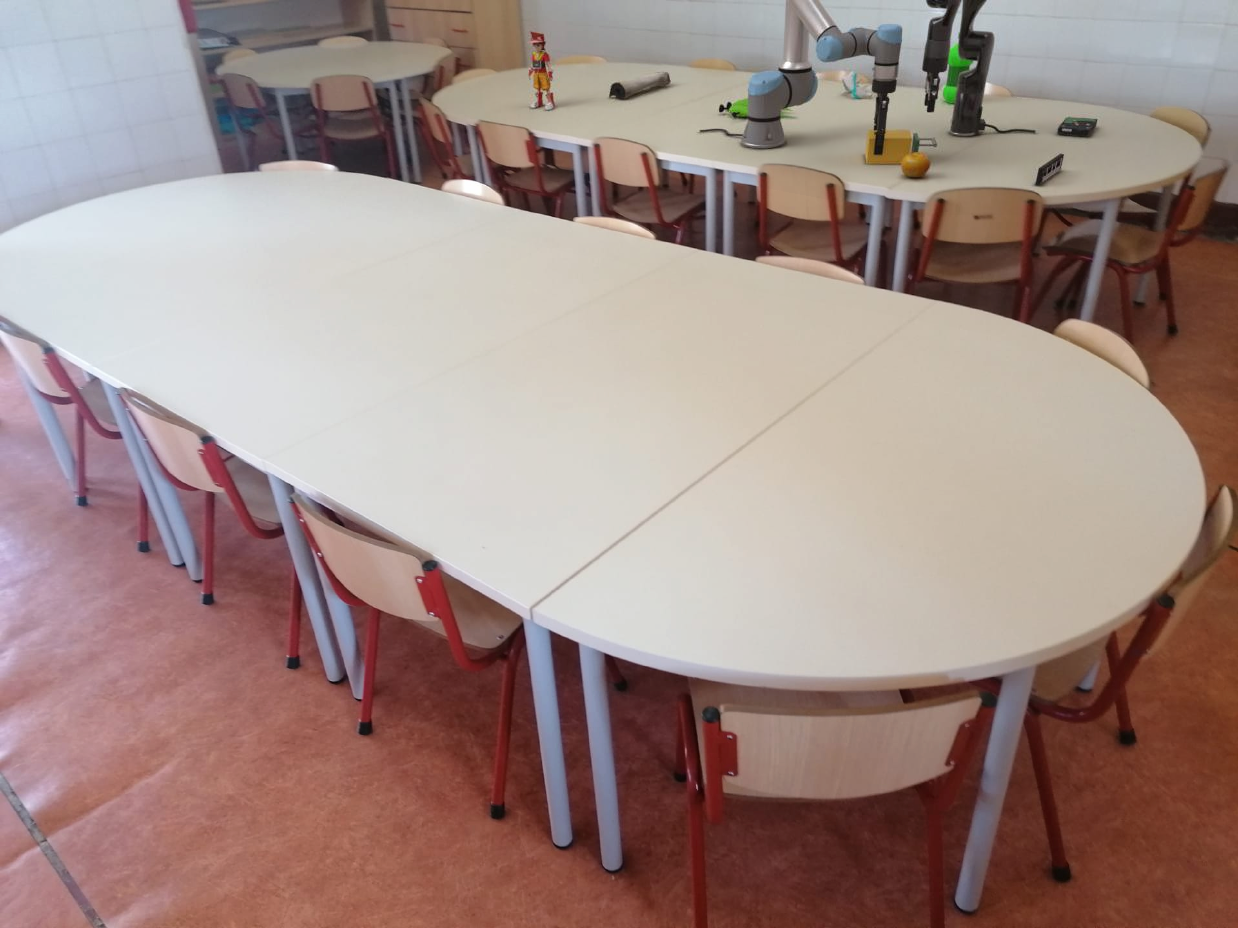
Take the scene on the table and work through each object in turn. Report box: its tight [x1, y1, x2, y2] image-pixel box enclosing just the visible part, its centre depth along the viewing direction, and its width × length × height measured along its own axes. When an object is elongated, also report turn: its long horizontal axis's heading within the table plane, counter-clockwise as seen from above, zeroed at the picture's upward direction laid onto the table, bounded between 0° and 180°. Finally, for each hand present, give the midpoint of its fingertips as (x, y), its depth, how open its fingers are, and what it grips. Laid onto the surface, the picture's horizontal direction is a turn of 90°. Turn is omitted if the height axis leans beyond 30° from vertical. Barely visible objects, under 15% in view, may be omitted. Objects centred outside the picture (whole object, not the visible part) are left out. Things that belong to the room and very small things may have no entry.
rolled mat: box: [608, 71, 672, 101], centre depth 395 cm, size 30×9×10 cm
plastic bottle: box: [942, 31, 974, 104], centre depth 348 cm, size 10×10×25 cm
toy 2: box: [718, 97, 794, 118], centre depth 353 cm, size 28×5×30 cm
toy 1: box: [527, 31, 556, 111], centre depth 374 cm, size 12×9×30 cm
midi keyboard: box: [1035, 153, 1065, 186], centre depth 273 cm, size 18×1×5 cm, turn 138°
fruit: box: [900, 151, 931, 178], centre depth 281 cm, size 8×8×8 cm
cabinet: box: [864, 129, 913, 165], centre depth 296 cm, size 13×10×8 cm
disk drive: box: [1057, 116, 1098, 137], centre depth 313 cm, size 10×3×15 cm
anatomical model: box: [841, 70, 873, 100], centre depth 370 cm, size 15×10×10 cm
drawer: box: [910, 132, 938, 153], centre depth 295 cm, size 18×9×6 cm, turn 80°
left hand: (877, 150), depth 297 cm, fingers closed on cabinet, 10 cm apart
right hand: (928, 109), depth 288 cm, fingers open, 8 cm apart
